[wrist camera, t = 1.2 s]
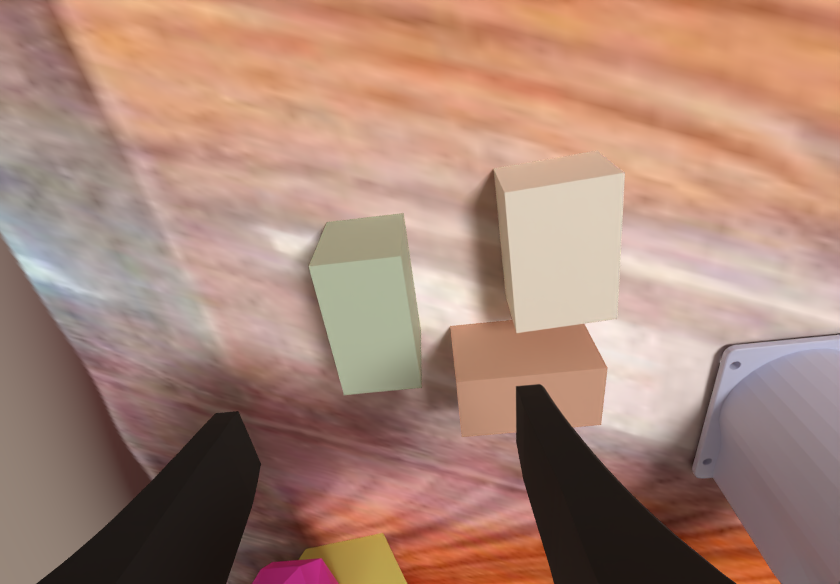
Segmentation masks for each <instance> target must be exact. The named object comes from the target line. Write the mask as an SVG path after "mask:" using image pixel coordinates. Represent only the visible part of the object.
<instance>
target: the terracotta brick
mask: <svg viewBox="0 0 840 584" xmlns="http://www.w3.org/2000/svg"><path fill="white" fill-rule="evenodd" d="M450 330H451V339H452V349H453V358H454V368H455V377H456V387H457V396H458V405H459V415H460V424H461V434H462V437H469V436H480V435H491V434H503V433H514V432H516V386H524V385H535V384H541V385H542V386H543V387H545V389H546V391H547V392H548V394H549V395H550V397H551V398H552V400H553V401H554V403H555V404H556V406H557V407H558V409H559V410H560V411H561V413H562V414H563V415H564V417H565V418H566V419H567V421H568V422H569V423H570V425H571V426H572V427H582V426H593V425H601V421H602V412H603V403H604V394H605V385H606V376H607V366H606V364H605V362H604V360H603V359H602V357H601V355H600V353H599V351H598V349H597V347H596V345H595V343H594V342H593V340H592V338H591V336H590V334H589V332H588V330H587V328H586V326H585V324H578V325H571V326H564V327H557V328H549V329H542V330H535V331H528V332H521V333H516V330H515V326H514V323H513V320H506V321H496V322H486V323H476V324H466V325H457V326H450Z"/></svg>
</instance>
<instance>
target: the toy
mask: <svg viewBox="0 0 840 584" xmlns="http://www.w3.org/2000/svg"><path fill="white" fill-rule="evenodd" d="M252 584H407V582H406V580H405V578H404V576H403V574H402V572H401V570H400V568H399V566H398V563H397V561H396V559H395V557H394V555H393V553H392V551H391V549H390V547H389V544H388V542H387V540H386V538H385V536H384V534H383V533H381V534H376V535H371V536H366V537H362V538H357V539H352V540H347V541H342V542H337V543H333V544H328V545H323V546H318V547H313V548H308V549H306V550H305V551H304V552H303V554H302V555H301V557H300V558H299V560H293V561H281V562H272V563H270V564H269V565H267V566H265V567H264V568H262V569H261V570H260V571H259V573H258V575H257V576H256V578H255V580H254V581H253V583H252Z"/></svg>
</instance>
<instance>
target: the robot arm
mask: <svg viewBox="0 0 840 584" xmlns="http://www.w3.org/2000/svg"><path fill="white" fill-rule="evenodd" d="M733 362H734V363H733ZM732 363H733V364H732ZM516 443H517V448H518V454H519V459H520V464H521V469H522V474H523V480H524V483H525V487H526V490H527V493H528V497H529V500H530V503H531V507H532V510H533V513H534V517H535V520H536V523H537V527H538V530H539V533H540V537H541V540H542V543H543V546H544V550H545V553H546V556H547V560H548V563H549V566H550V570H551V573H552V577H553V581H554V584H736V583H735V582H733V581H732V580H731V579H729V578H728V577H727V576H725V575H724V574H723V573H721V572H720V571H719V570H718V569H716V568H715V567H714V566H713V565H712V564H710V563H709V562H708V561H707V560H705V559H704V558H703V557H702V556H701V555H699V554H698V553H697V552H696V551H694V550H693V549H692V548H691V547H690V546H688V545H687V544H686V543H685V542H683V541H682V540H681V539H680V538H678V537H677V536H676V535H675V534H674V533H673V532H672V531H671V530H669V529H668V528H667V527H666V526H665V525H664V524H663V523H662V522H661V521H659V520H658V519H657V518H656V517H655V516H654V515H653V514H652V513H651V512H650V511H649V510H648V509H646V508H645V507H644V506H643V505H642V504H641V503H640V502H639V501H638V500H637V499H636V498H635V497H634V496H633V495H632V494H631V493H630V492H629V491H628V490H627V489H626V488H625V487H624V486H623V485H622V484H621V483H620V482H619V481H618V480H617V479H616V477H615V476H614V475H613V474H612V473H611V472H610V471H609V470H608V469H607V468H606V467H605V466H604V464H603V463H602V462H601V461H600V460H599V459H598V458H597V456H596V455H595V454H594V453H593V452H592V451H591V449H590V448H589V447H588V446H587V445H586V443H585V442H584V441H583V440H582V439H581V437H580V436H579V435H578V434H577V432H576V431H575V430H574V429H573V427H572V426H571V425H570V423H569V422H568V421H567V419H566V418H565V417H564V415H563V414H562V413H561V411H560V410H559V409H558V407H557V406H556V404H555V403H554V401H553V400H552V398H551V397H550V395H549V394H548V392H547V391H546V389H545V387H543V386H542V385H541V384H535V385H524V386H516ZM260 466H261V463H260V460H259V458H258V456H257V453H256V451H255V449H254V446H253V444H252V442H251V439H250V437H249V435H248V432H247V430H246V428H245V426H244V423H243V421H242V419H241V416H240V414H239V412H238V411H236V412H225V413H216V414H215V415H214V416H213V417H212V418H211V419H210V420H209V421H208V422H207V423H206V424H205V425H204V426H203V427H202V428H201V429H200V430H199V431H198V432H197V433H196V434H195V436H194V437H193V438H192V439H191V440H190V441H189V442H188V443H187V444H186V445H185V446H184V447H183V449H182V450H181V451H180V452H179V453H178V454H177V455H176V456H175V457H174V458H173V459H172V460H171V461H170V462H169V463H168V464H167V466H166V467H165V468H164V469H163V470H162V471H161V472H160V473H159V474H158V475H157V476H156V477H155V478H154V479H153V480H152V481H151V482H150V484H148V485H147V486H146V487H145V488H144V489H143V490H142V491H141V492H140V493H139V494H138V495H137V496H136V497H135V498H134V499H133V500H132V501H131V502H130V503H129V504H128V505H127V506H126V507H125V508H124V509H123V510H122V511H121V512H120V513H119V514H118V515H117V516H116V517H115V518H114V519H112V520H111V522H109V523H108V524H107V525H106V526H105V527H104V528H103V529H102V530H101V531H99V532H98V533H97V534H96V535H95V536H94V537H93V538H92V539H90V540H89V541H88V542H87V543H86V544H85V545H83V546H82V547H81V548H80V549H79V550H78V551H76V552H75V553H74V554H73V555H72V556H71V557H70V558H68V559H67V560H66V561H64V562H63V563H62V564H61V565H60V566H58V567H57V568H56V569H54V570H53V571H52V572H51V573H50V574H48V575H47V576H46V577H44V578H43V579H42V580H40V581H39V582H38V583H37V584H226V582H227V579H228V576H229V573H230V571H231V568H232V565H233V562H234V559H235V556H236V553H237V550H238V547H239V544H240V541H241V538H242V535H243V532H244V529H245V526H246V523H247V520H248V517H249V514H250V511H251V508H252V504H253V501H254V496H255V492H256V487H257V482H258V476H259V471H260ZM692 472H693V474H694V475H695V476H696V477H697V478H713V479H714V480H715V482H716V483H717V485H718V486H719V488H720V490H721V491H722V493H723V494H724V496H725V498H726V499H727V501H728V502H729V504H730V505H731V507H732V509H733V510H734V512H735V513H736V515H737V517H738V518H739V520H740V521H741V523H742V525H743V526H744V528H745V529H746V531H747V532H748V534H749V536H750V537H751V539H752V540H753V542H754V544H755V545H756V547H757V548H758V550H759V551H760V553H761V555H762V556H763V558H764V559H765V561H766V563H767V564H768V566H769V567H770V569H771V570H772V572H773V573H774V575H775V576H776V577H777V579H778V580H779V581H780V582H781V584H840V335H832V336H821V337H811V338H801V339H791V340H781V341H770V342H760V343H750V344H740V345H733V346H730V347H728V348H727V349H726V350H725V351H724V353H723V355H722V359H721V362H720V366H719V370H718V374H717V377H716V381H715V385H714V388H713V392H712V396H711V400H710V403H709V407H708V411H707V415H706V418H705V422H704V426H703V429H702V433H701V437H700V441H699V444H698V448H697V452H696V456H695V459H694V463H693V467H692Z"/></svg>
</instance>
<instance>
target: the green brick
mask: <svg viewBox="0 0 840 584" xmlns="http://www.w3.org/2000/svg"><path fill="white" fill-rule="evenodd" d="M309 270H310V273H311V277H312V281H313V284H314V288H315V292H316V295H317V299H318V302H319V306H320V310H321V313H322V317H323V321H324V324H325V328H326V331H327V335H328V339H329V342H330V346H331V350H332V353H333V357H334V360H335V364H336V368H337V371H338V375H339V379H340V382H341V386H342V389H343V393H344V395H350V394H361V393H371V392H382V391H392V390H403V389H413V388H422V369H421V328H420V321H419V315H418V308H417V301H416V294H415V288H414V281H413V274H412V267H411V261H410V254H409V247H408V240H407V234H406V227H405V220H404V213H401V214H392V215H384V216H375V217H367V218H358V219H350V220H341V221H333V222H327V223H326V226H325V228H324V230H323V233H322V235H321V238H320V240H319V242H318V245H317V247H316V250H315V252H314V255H313V257H312V259H311V262H310V264H309Z"/></svg>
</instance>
